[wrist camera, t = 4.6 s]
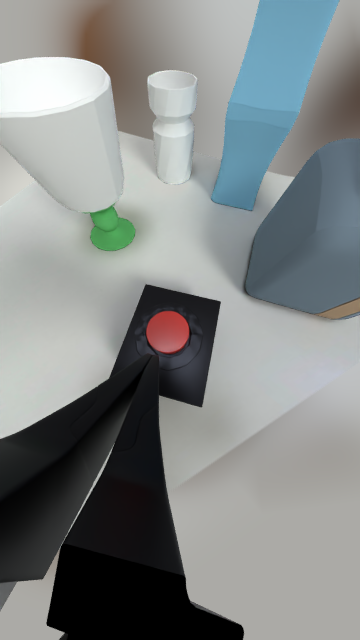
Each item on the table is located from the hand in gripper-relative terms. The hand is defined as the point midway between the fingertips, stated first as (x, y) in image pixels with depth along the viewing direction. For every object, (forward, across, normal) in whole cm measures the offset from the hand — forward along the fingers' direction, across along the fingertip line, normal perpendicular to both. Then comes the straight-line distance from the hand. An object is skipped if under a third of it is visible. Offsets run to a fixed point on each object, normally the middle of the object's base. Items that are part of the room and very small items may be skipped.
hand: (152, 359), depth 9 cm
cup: (+24, +18, -7) cm, 30 cm away
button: (+5, 0, +1) cm, 5 cm away
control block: (+10, 0, +6) cm, 12 cm away
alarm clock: (+23, -18, -6) cm, 30 cm away
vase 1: (+40, +11, -23) cm, 47 cm away
